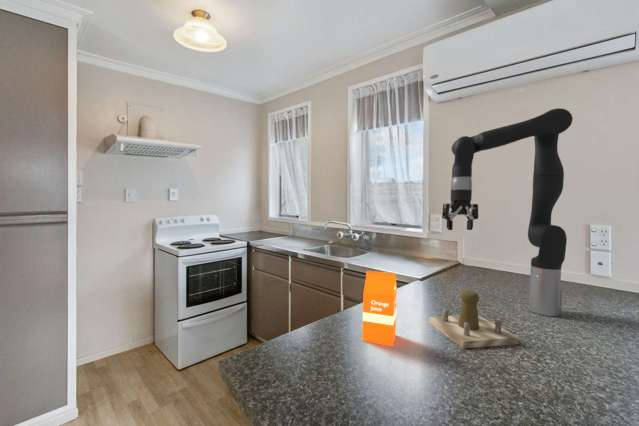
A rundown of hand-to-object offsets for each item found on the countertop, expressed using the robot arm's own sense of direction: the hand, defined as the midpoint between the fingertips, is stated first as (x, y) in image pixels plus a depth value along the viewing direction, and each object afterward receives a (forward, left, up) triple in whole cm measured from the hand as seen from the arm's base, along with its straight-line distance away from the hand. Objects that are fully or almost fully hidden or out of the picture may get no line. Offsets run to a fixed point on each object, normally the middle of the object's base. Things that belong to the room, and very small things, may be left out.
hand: (459, 229), depth 121 cm
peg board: (+12, +24, -30) cm, 40 cm away
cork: (+13, +24, -28) cm, 39 cm away
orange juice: (+42, +23, -30) cm, 57 cm away
